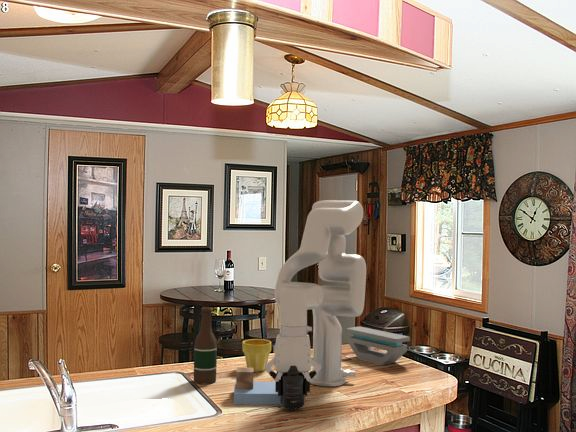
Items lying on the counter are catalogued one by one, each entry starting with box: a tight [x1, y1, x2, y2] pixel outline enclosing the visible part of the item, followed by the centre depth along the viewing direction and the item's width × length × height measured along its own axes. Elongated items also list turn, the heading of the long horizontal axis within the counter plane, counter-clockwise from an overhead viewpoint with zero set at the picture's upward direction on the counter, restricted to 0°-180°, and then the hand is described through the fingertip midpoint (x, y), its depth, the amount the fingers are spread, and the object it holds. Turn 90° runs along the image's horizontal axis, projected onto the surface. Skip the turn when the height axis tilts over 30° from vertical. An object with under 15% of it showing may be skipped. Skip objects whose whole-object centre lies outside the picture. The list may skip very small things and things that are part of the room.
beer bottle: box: [193, 306, 218, 385], centre depth 181 cm, size 8×8×24 cm
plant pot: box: [241, 338, 272, 372], centre depth 198 cm, size 10×10×10 cm
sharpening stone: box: [345, 325, 411, 366], centre depth 214 cm, size 25×8×11 cm, turn 41°
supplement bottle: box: [279, 366, 306, 410], centre depth 156 cm, size 7×7×12 cm
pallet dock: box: [233, 381, 281, 405], centre depth 166 cm, size 16×12×3 cm
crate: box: [235, 367, 255, 389], centre depth 166 cm, size 5×5×5 cm
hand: (292, 393), depth 156 cm, fingers closed on supplement bottle, 6 cm apart
